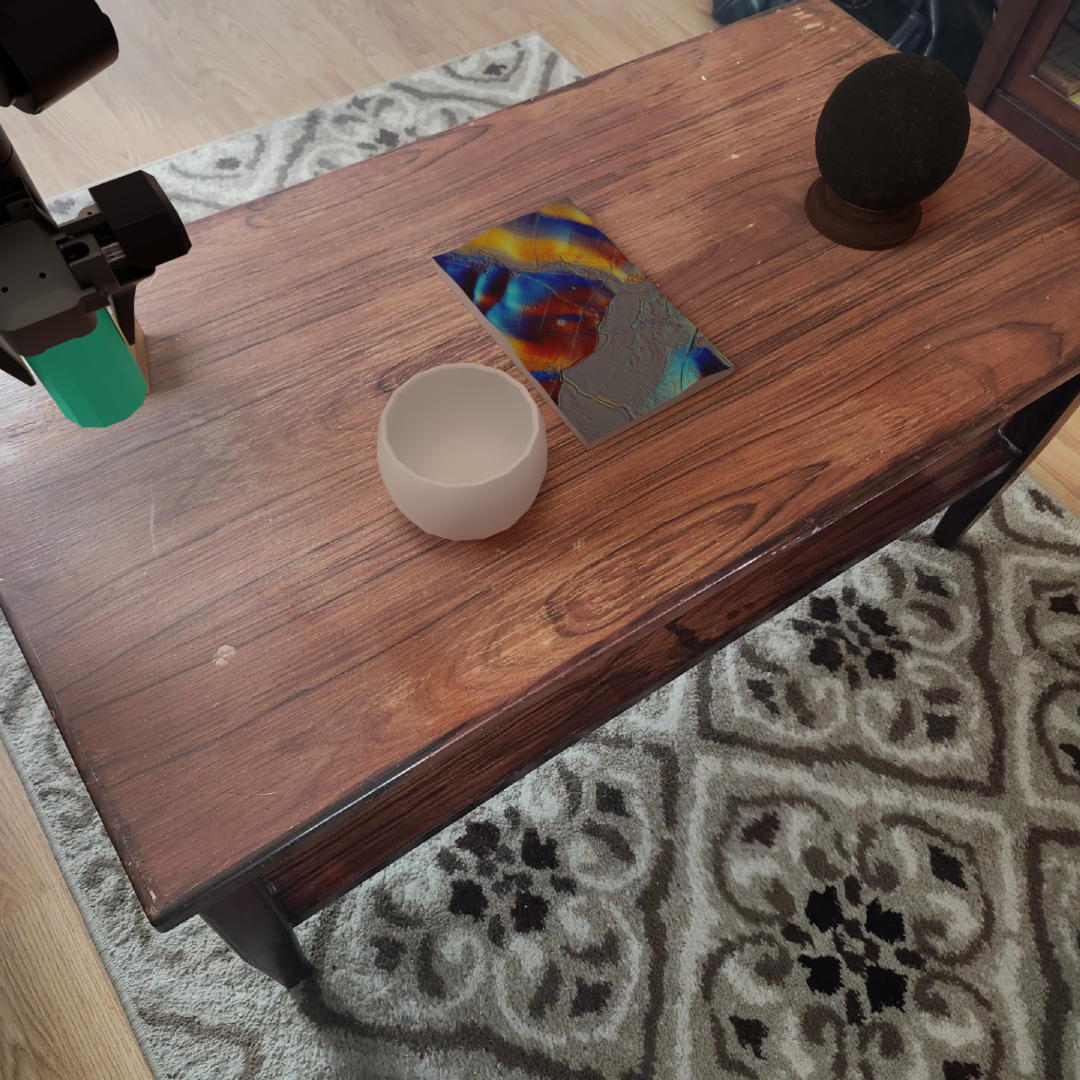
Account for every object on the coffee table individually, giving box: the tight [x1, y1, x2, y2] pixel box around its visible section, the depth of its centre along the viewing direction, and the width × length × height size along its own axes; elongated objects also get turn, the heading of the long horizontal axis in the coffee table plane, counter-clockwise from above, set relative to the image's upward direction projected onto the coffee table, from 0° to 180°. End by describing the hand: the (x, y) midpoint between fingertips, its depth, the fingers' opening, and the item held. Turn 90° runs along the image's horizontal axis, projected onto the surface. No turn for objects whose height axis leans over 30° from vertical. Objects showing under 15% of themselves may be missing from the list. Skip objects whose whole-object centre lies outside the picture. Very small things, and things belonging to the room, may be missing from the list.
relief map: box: [431, 196, 736, 451], centre depth 81 cm, size 25×15×2 cm, turn 33°
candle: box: [23, 287, 148, 429], centre depth 59 cm, size 6×6×12 cm
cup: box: [376, 362, 548, 542], centre depth 67 cm, size 12×12×10 cm
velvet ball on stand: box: [804, 52, 972, 252], centre depth 83 cm, size 13×13×15 cm
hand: (81, 361), depth 61 cm, fingers closed on candle, 6 cm apart
